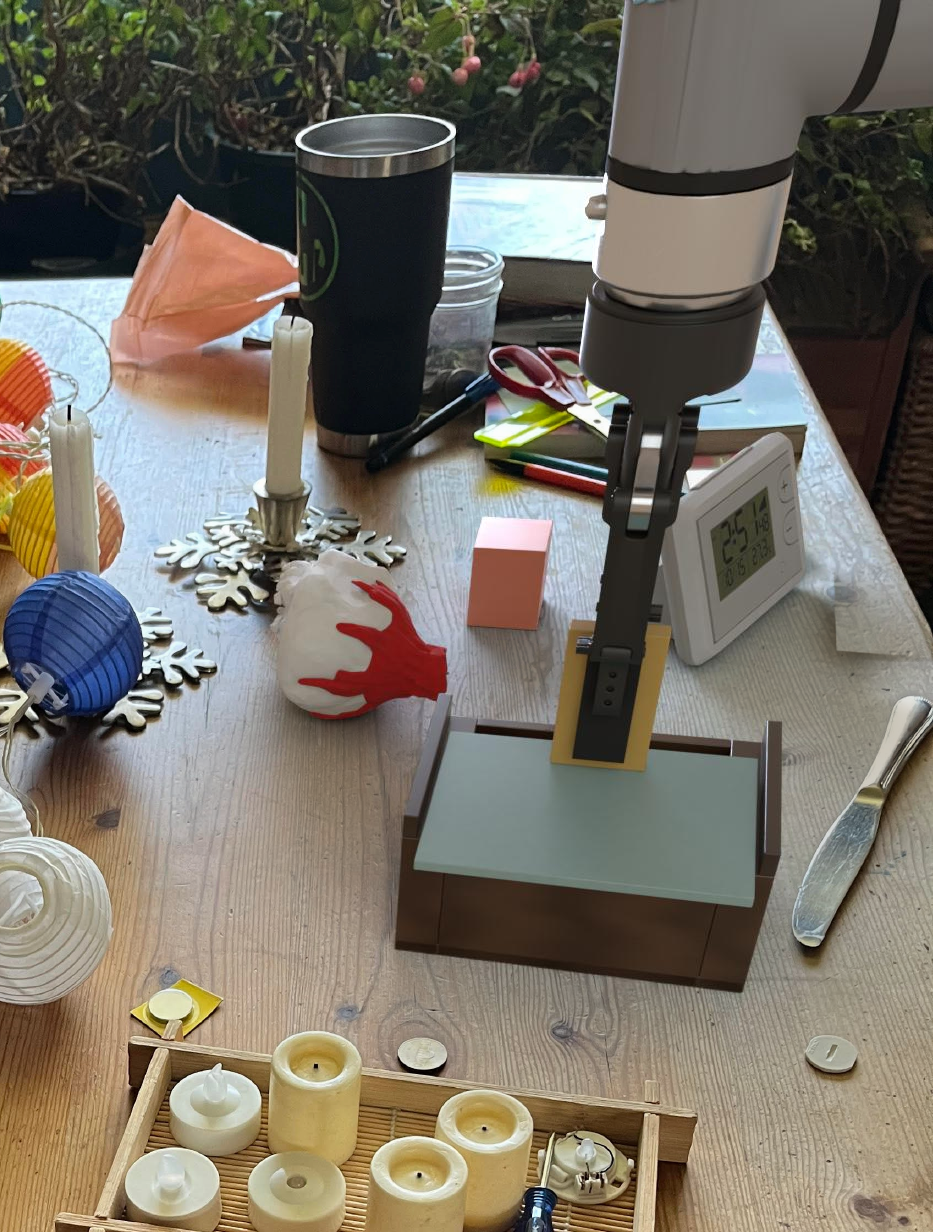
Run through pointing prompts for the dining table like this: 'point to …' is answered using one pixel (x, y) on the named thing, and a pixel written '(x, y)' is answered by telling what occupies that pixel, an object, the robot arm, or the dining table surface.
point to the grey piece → (596, 805)
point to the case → (584, 918)
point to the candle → (349, 639)
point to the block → (509, 572)
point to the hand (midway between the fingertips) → (600, 746)
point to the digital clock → (731, 549)
